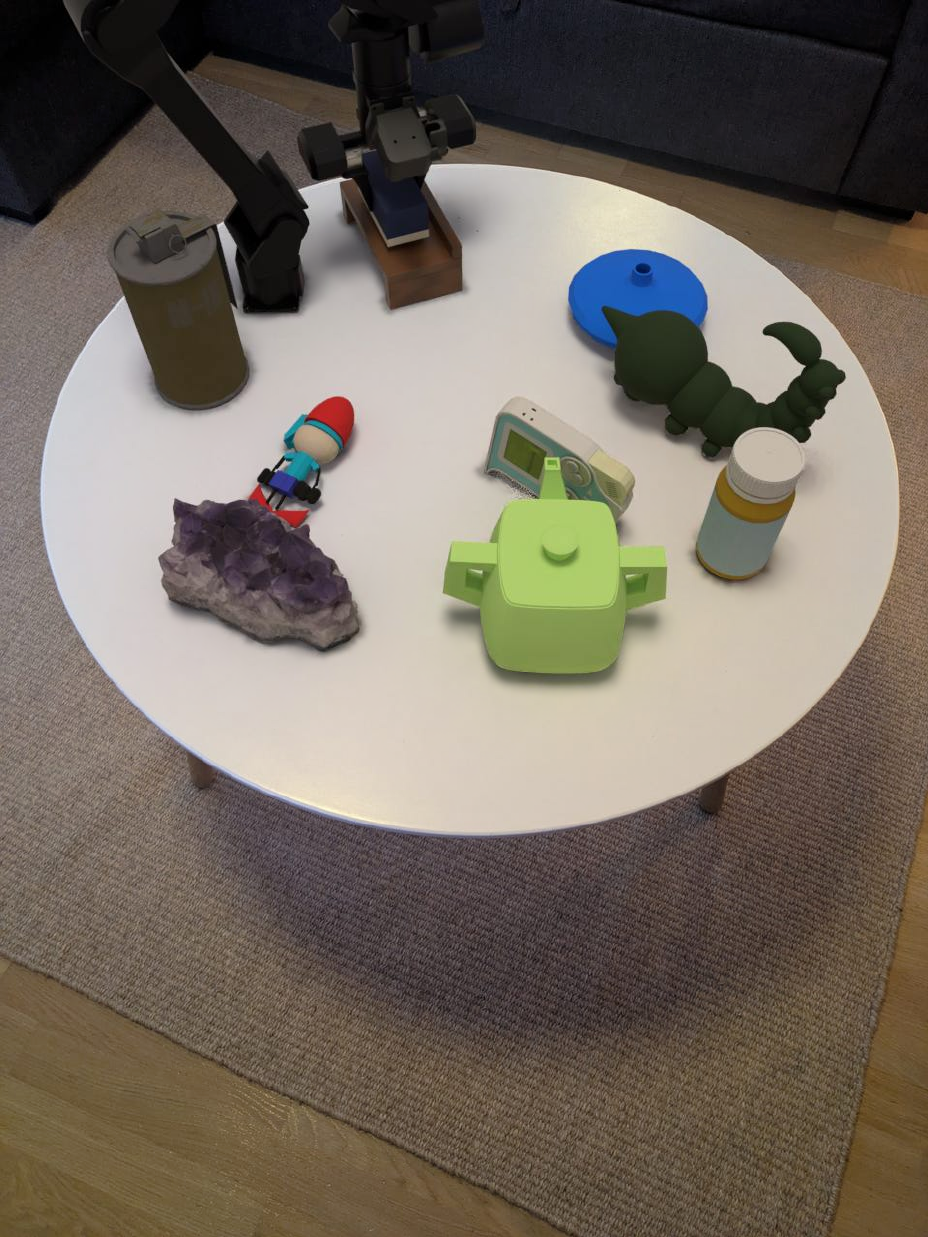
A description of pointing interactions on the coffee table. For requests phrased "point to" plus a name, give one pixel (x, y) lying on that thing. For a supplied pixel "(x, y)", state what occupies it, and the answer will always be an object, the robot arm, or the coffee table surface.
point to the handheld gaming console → (539, 434)
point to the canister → (181, 306)
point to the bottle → (750, 503)
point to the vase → (633, 290)
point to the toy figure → (307, 455)
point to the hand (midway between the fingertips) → (392, 204)
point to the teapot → (554, 581)
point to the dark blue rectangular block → (396, 205)
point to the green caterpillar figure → (715, 379)
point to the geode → (257, 574)
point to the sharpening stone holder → (410, 252)
